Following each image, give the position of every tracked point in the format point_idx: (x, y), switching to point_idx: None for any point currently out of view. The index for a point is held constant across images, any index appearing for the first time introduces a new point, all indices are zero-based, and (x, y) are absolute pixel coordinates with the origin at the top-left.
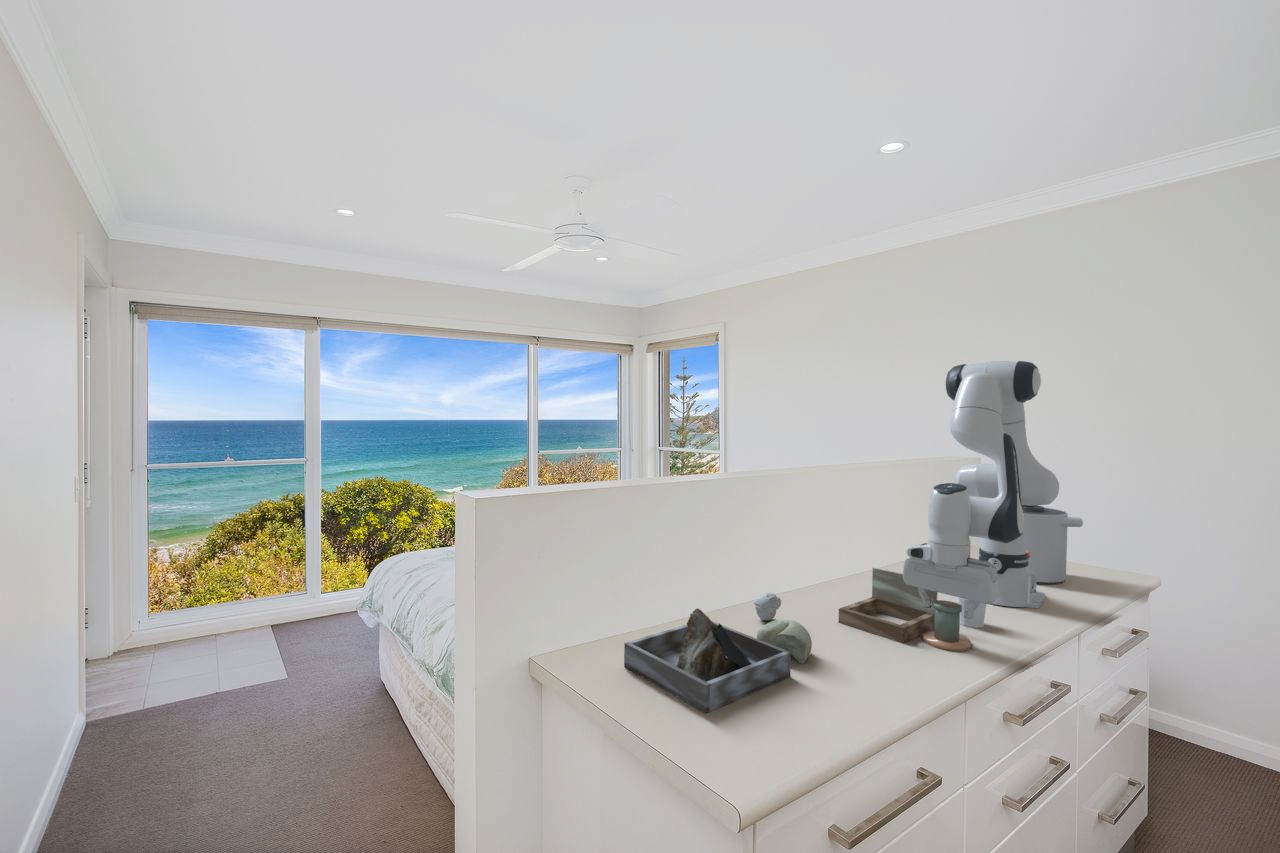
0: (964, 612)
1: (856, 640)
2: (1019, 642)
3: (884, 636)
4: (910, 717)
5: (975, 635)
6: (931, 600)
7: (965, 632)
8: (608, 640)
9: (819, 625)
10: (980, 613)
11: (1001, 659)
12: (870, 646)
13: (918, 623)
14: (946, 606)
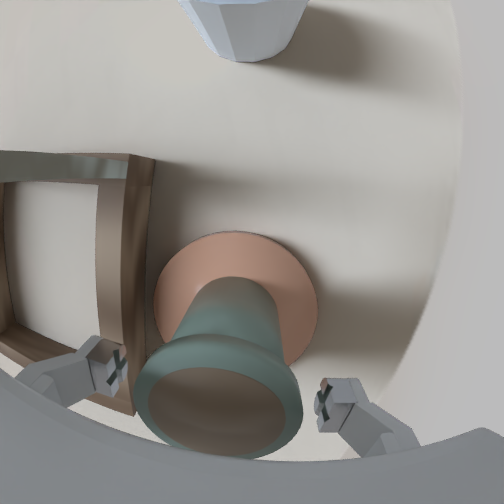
0: (319, 423)
1: (88, 413)
2: (425, 126)
3: None
4: None
5: (300, 145)
6: (108, 370)
7: (259, 136)
8: None
9: (15, 367)
10: (297, 20)
11: (398, 328)
12: (122, 429)
13: (126, 333)
14: (229, 454)
